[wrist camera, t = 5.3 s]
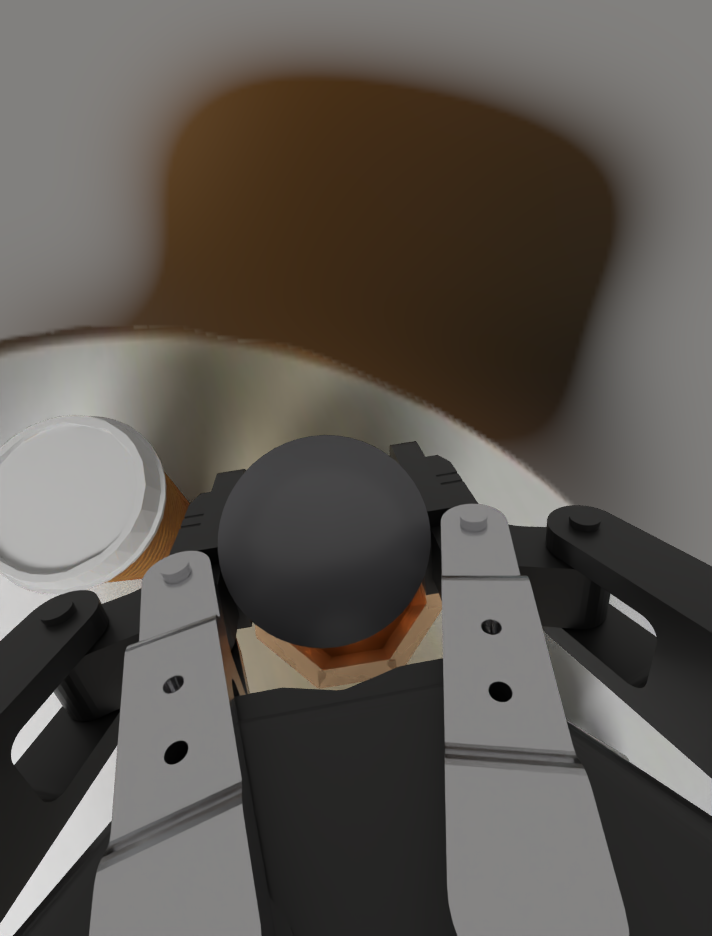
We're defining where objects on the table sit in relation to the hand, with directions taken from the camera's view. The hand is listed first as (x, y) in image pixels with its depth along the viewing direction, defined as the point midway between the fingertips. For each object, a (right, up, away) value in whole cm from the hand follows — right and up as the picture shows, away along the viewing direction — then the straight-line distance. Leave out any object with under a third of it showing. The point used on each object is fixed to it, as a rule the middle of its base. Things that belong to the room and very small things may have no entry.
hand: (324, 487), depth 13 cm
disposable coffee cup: (-14, -4, +22) cm, 26 cm away
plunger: (0, -5, +10) cm, 11 cm away
